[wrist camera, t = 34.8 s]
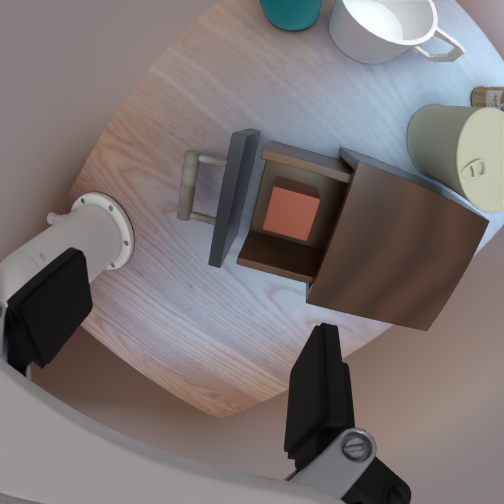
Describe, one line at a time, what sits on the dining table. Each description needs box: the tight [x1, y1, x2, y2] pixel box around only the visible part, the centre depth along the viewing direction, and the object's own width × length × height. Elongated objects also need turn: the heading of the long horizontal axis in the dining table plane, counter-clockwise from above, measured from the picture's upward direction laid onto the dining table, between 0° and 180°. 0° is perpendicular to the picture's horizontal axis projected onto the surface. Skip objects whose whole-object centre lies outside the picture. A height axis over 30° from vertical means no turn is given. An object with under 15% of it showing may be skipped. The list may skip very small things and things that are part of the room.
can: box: [407, 104, 504, 213], centre depth 19 cm, size 9×9×12 cm
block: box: [263, 176, 320, 241], centre depth 27 cm, size 4×4×4 cm
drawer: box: [177, 128, 354, 284], centre depth 27 cm, size 18×13×8 cm
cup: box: [329, 0, 465, 64], centre depth 16 cm, size 8×12×10 cm
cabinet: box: [306, 147, 489, 331], centre depth 26 cm, size 15×14×10 cm
